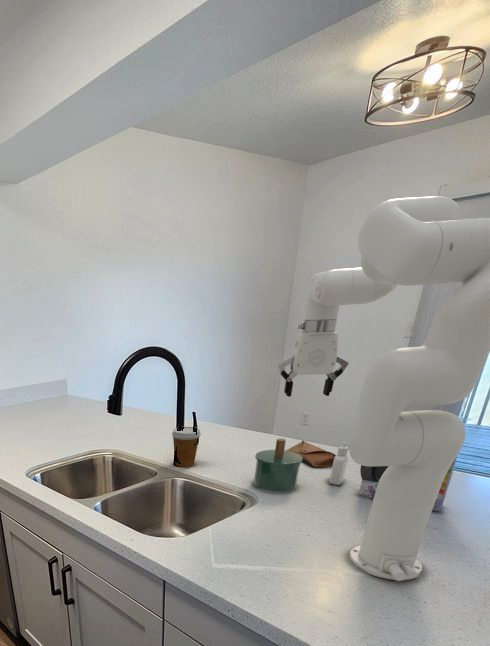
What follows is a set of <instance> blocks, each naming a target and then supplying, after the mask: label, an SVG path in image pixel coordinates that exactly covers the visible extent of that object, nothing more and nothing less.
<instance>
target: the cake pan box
mask: <svg viewBox="0 0 490 646" xmlns="http://www.w3.org/2000/svg"><path fill="white" fill-rule="evenodd" d="M458 455H459V454H458ZM458 455H457V457H456V458H455V460H454V461H453V463H452V464H451V466H450V468H449V470H448V472H447V474H446V475H445V478H444V480H443V482H442V485H441V487H440V490H439V493H438V496H437V499H436V501H435V504H434V507H433V509H432V511H435V512H440V511H441V509H442V507H443V505H444V501H445V498H446V495H447V492H448V489H449V485H450V482H451V480H452V476H453V472H454V469H455V467H456V463H457V458H458ZM388 467H389V466H363V465H360V477H361V484H360V489H359V491H358V494H359V495H362V496H366V497H367V498H369V499H374V496H375V492H376V489H377V485H378V482H379V480H380V478H381V476H382V475H383V473H384V472H385V470H386V469H387V468H388Z"/></svg>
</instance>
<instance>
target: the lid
mask: <svg viewBox="0 0 490 646" xmlns="http://www.w3.org/2000/svg"><path fill="white" fill-rule="evenodd" d="M286 443H287V440H286V439H285V438H277V439H276V443H275V449H267V450H266V449H265V450H261V451H258V452H256V453H255V455H254V459H256V461H257V460H258V461H260V462H262V463H266V464H270V465H278V466H290V465H296V464H299V463H300V464H301V463H302V462H303V461H302V460H303V458H302V456H301V455H299V454H297V453H294V452H290V451H286V450H285V449H286Z"/></svg>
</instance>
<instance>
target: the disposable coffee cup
mask: <svg viewBox="0 0 490 646" xmlns="http://www.w3.org/2000/svg"><path fill="white" fill-rule="evenodd" d="M183 427H184V429H183V431H182V430H181V431H177V428H178V427H175V428H174V429H173V430H172V432H171V436H172V440H173V449H174V450H173V451H174V454H175V451H176V446H177V458H178V459H179V461H180V463H181V464H178V463H176V462H175V461H174V462H175V466H177V467H180V468H190V467H193V466H194V465H195V460H196V456H197V451H198V446H199V441H200V437H201V435H202V433H201V429H200V428H198V427H196V428H197V435H196V432H193V427H194V426H183ZM197 438H198V443H197V444H196V441H197ZM194 443H195V444H196V446H195V447H194ZM193 447H194V448H193Z"/></svg>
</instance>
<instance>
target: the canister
mask: <svg viewBox="0 0 490 646" xmlns="http://www.w3.org/2000/svg"><path fill="white" fill-rule="evenodd" d="M300 466H301V463H299V464H296V465H290V466H278V465H270V464H266V463H262V462H260V461H258V460H257V459H256V464H255V471H254V479H253V485H254V487H255V488H256V489H262V490H264V491H270V492H282V493H283V492H288V491H292V490H295V489H296V486H297V481H298V476H299V470H300Z"/></svg>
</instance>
